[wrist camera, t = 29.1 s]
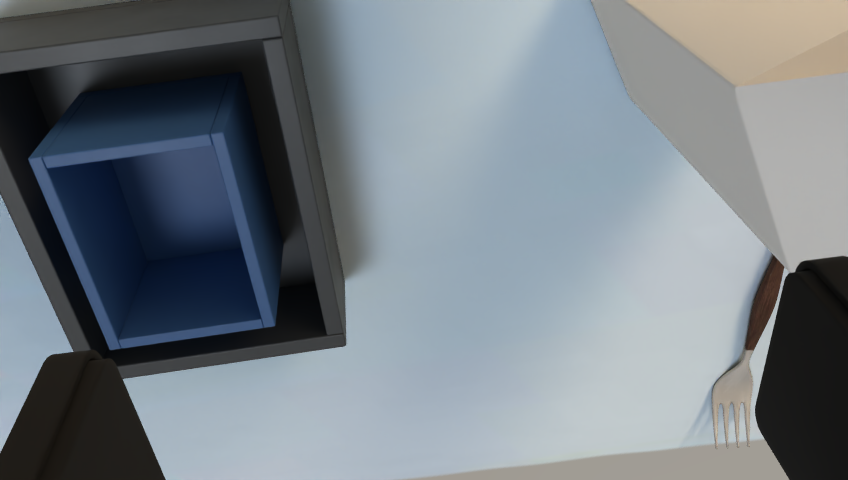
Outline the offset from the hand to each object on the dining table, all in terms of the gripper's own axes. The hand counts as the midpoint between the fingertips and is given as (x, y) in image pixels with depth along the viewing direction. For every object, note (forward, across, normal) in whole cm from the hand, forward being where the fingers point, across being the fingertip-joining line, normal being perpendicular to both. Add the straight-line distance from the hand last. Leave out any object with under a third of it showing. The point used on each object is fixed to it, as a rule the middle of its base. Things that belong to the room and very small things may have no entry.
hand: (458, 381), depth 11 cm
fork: (+25, -19, +23) cm, 39 cm away
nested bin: (+24, +10, +8) cm, 27 cm away
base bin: (+24, +10, +8) cm, 28 cm away
